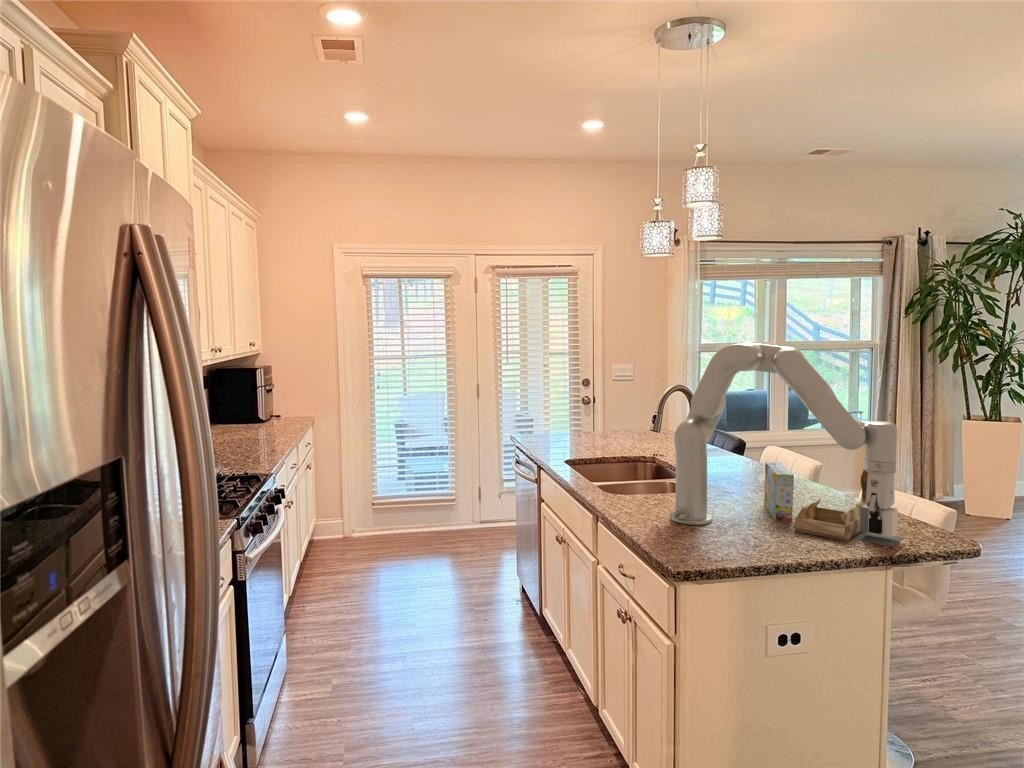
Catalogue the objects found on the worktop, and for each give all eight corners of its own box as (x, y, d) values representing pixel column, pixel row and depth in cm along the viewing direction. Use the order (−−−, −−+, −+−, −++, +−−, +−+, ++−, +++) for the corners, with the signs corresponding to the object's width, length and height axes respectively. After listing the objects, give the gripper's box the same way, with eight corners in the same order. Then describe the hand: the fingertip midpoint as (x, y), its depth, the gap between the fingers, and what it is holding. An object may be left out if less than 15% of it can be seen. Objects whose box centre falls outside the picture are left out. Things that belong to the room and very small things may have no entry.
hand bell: (849, 515, 210) (851, 466, 209) (879, 519, 206) (881, 468, 204) (847, 522, 203) (849, 471, 202) (878, 526, 198) (880, 473, 197)
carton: (843, 543, 182) (844, 517, 182) (792, 533, 192) (792, 509, 191) (866, 528, 196) (866, 504, 196) (817, 519, 206) (817, 496, 205)
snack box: (794, 523, 203) (795, 474, 202) (774, 522, 204) (775, 474, 203) (780, 505, 224) (781, 461, 222) (762, 505, 225) (763, 461, 224)
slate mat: (893, 548, 178) (893, 546, 178) (853, 540, 185) (853, 538, 185) (903, 539, 185) (903, 537, 185) (864, 532, 192) (864, 530, 192)
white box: (891, 537, 180) (892, 512, 180) (860, 531, 186) (860, 506, 185) (897, 533, 184) (897, 508, 183) (865, 527, 189) (866, 503, 189)
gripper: (886, 473, 175) (884, 540, 176) (904, 463, 187) (901, 526, 188) (855, 469, 180) (853, 534, 181) (874, 460, 192) (872, 521, 194)
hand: (878, 529), depth 185 cm, fingers closed on white box, 5 cm apart
